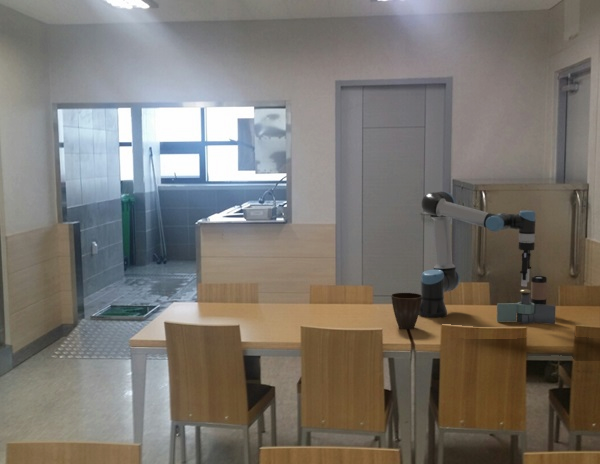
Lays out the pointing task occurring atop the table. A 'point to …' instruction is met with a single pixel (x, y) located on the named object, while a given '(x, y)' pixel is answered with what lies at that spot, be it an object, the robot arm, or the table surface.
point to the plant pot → (406, 309)
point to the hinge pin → (525, 296)
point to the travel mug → (538, 290)
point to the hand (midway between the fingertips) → (525, 284)
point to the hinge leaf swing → (513, 311)
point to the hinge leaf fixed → (539, 315)
